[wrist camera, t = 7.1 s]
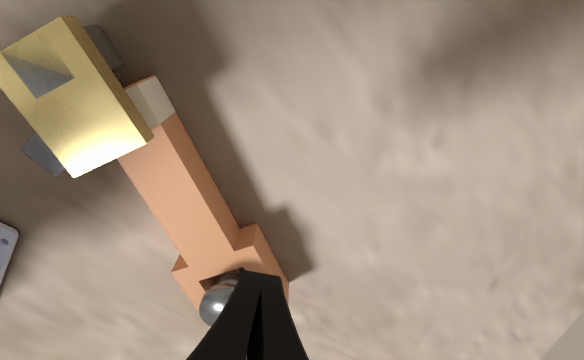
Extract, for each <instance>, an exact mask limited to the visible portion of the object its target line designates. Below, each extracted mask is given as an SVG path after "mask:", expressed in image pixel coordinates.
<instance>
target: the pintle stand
mask: <svg viewBox="0 0 584 360" xmlns="http://www.w3.org/2000/svg"><path fill="white" fill-rule="evenodd" d="M123 64H124V63H123V62H122V60H121V59H120V57H119V56H118V54H117V52H116V51H115V49H114V48H113V46H112V45H111V43H110V42H109V40H108V38H107V37H106V35H105V34H104V32H103V31H102V29H101V27H100V26H99V25H98V26H82V25H81V23H80V22H79V20H78V19H77V17H76V16H59V17H58V18H56V19H54V20H53V21H51V22H49V23H47V24H46V25H44V26H42V27H41V28H39V29H37V30H36V31H34V32H32V33H30V34H29V35H27V36H25V37H24V38H22V39H20V40H19V41H17V42H15V43H13V44H12V45H10V46H8V47H7V48H5V49H3V50H2V51H0V88H1V89H2V91H3V92H4V93H5V94H6V96H7V97H8V98H9V99H10V101H11V102H12V103H13V104H14V105H15V107H16V108H17V109H18V110H19V112H20V113H21V114H22V115H23V116H24V118H25V119H26V120H27V121H28V123H29V124H30V125H31V126H32V128H33V129H34V130H35V131H36V132H35V133H34V134H33V135H32V137H31V138H30V139H29V140H28V141H27V143H26V144H25V145H24V146H23V148H22V149H21V150H20V151H22V152H23V153H24V154H26V155H27V156H28V157H30V158H31V159H32V160H34V161H35V162H36V163H38V164H39V165H40V166H41V167H43V168H44V169H45V170H47V171H48V172H49V173H51V174H52V175H53V176H55V177H57V176H59V175H60V174H62V173H63V172H65V171H66V170H67V171H68V172H69V173H70V174H71V176H72V177H73V178H75V177H77V176H80V175H82V174H84V173H86V172H88V171H90V170H92V169H94V168H96V167H99V166H101V165H103V164H105V163H107V162H109V161H111V160H113V159H115V158H118V157H120V156H122V155H124V154H126V153H128V152H130V151H132V150H134V149H137V148H139V147H141V146H143V145H145V144H147V143H148V142H149V141H150V140H151V139H153V138H154V137H155V136H154V134H153V133H152V131H151V130H150V128H149V126H148V125H147V123H146V122H145V120H144V119H143V117H142V116H141V114H140V113H139V111H138V110H137V108H136V107H135V105H134V104H133V102H132V101H131V99H130V98H129V96H128V95H127V93H126V92H125V90H124V89H123V87H122V86H121V84H120V83H119V81H118V80H117V78H116V76H115V75H114V73H113V72H112V70H114V69H116V68H118V67H120V66H121V65H123ZM244 270H245V269H244V268H243V267H241V268H238V269H235V270H232V271H228V272H225V273H222V274H219V278H218V281H217V285H214V286H212V287H210V288H209V289H208V290H206V292H205V293H204V294H203V296H202V299H201V302H200V306H199V313H200V316H201V318H202V319H203V321H204V322H205V323H206V324H207V325H209V326H210V327H211V326H212V325H213V324H214V322H215V321H216V319H217V318H218V316H219V315H220V313H221V311H222V310H223V308H224V306H225V305H226V303H227V302H228V300H229V298H230V296H231V294H232V292H233V290H234V288H235V286H236V284H237V282H238V279H239V276H240V273H241V272H242V271H244Z"/></svg>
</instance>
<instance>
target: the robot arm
mask: <svg viewBox="0 0 584 360" xmlns="http://www.w3.org/2000/svg"><path fill="white" fill-rule="evenodd" d="M18 235H19V234H18V232H17V231H16V230H15V229H14V228H12V227H10V226H7V225H5V224H3V223H1V222H0V285H1V282H2V279H3V277H4V274H5V271H6V269H7V266H8V263H9V261H10V258H11V255H12V253H13V250H14V247H15V245H16V242H17V239H18ZM246 356H247V359H246ZM186 360H309V359H308V357H307V354H306V352H305V350H304V348H303V345H302V343H301V341H300V338H299V336H298V333H297V330H296V328H295V325H294V322H293V319H292V317H291V314H290V311H289V307H288V304H287V301H286V297H285V293H284V289H283V284H282V279H281V278H280V276H276V275H270V274H264V273H259V272H253V271H247V270H244V271H242V272H241V273H240V276H239V279H238V282H237V284H236V286H235V288H234V290H233V292H232V294H231V296H230V298H229V300H228V302H227V303H226V305H225V306H224V308H223V310H222V311H221V313H220V315H219V316H218V318H217V319H216V321H215V322H214V324H213V325H212V326H211V328H210V329H209V331H208V332H207V334H206V335H205V336H204V338H203V339H202V340H201V342H200V343H199V344H198V346H197V347H196V348H195V349H194V351H193V352H192V353H191V354H190V356H189V357H188V358H187V359H186Z"/></svg>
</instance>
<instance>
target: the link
mask: <svg viewBox="0 0 584 360" xmlns="http://www.w3.org/2000/svg"><path fill="white" fill-rule="evenodd" d="M123 89H124V90H125V92H126V93H127V95H128V96H129V98H130V99H131V101H132V102H133V104H134V105H135V107H136V108H137V110H138V111H139V113H140V114H141V116H142V117H143V119H144V120H145V122H146V123H147V125H148V126H149V128H150V130H151V131H152V133H153V134H154V136H155V137H154V138H153V139H151V140H150V141H149V142H148V143H147V144H145V145H143V146H141V147H139V148H137V149H134V150H132V151H130V152H128V153H126V154H124V155H122V156H120V157H118V158H116V159H117V160H118V162H119V163H120V165H121V166H122V168H123V169H124V171H125V172H126V174H127V175H128V177H129V178H130V180H131V181H132V183H133V184H134V186H135V187H136V189H137V190H138V192H139V193H140V195H141V196H142V198H143V199H144V201H145V202H146V204H147V205H148V207H149V208H150V210H151V211H152V213H153V214H154V215H155V217H156V218H157V220H158V221H159V223H160V224H161V226H162V227H163V229H164V230H165V232H166V233H167V235H168V236H169V238H170V239H171V241H172V242H173V244H174V245H175V247H176V248H177V250H178V251H179V253H180V255H179V257H178V259H177V261H176V263H175V265H174V267H173V269H172V272H171V273H172V275H173V276H174V277H175V279H176V280H177V282H178V283H179V285H180V286H181V287H182V289H183V290H184V292H185V293H186V294H187V296H188V297H189V299H190V300H191V302H192V303H193V304H194V306H195V307H196V309H197V310H198V312H199V306H200V302H201V299H202V296H203V294H204V293H205V292H206V290H208V289H209V288H210V287H212V286H214V285H217V281H218V278H219V274H222V273H225V272H228V271H232V270H235V269H238V268H241V267H243V268H244V269H245V270H247V271H253V272H259V273H264V274H270V275H276V276H280V278H281V279H282V284H283V289H284V293H285V297H286V301H287V304H288V289H289V283H288V281H287V279H286V277H285V275H284V273H283V272H282V270H281V268H280V266H279V264H278V262H277V260H276V258H275V256H274V254H273V252H272V250H271V249H270V247H269V245H268V243H267V241H266V239H265V237H264V235H263V233H262V231H261V229H260V227H259V226H258V224H257V223H254V224H251V225H248V226H246V227H243V228H239V226H238V224H237V222H236V220H235V219H234V217H233V215H232V213H231V211H230V209H229V208H228V206H227V204H226V202H225V200H224V199H223V197H222V195H221V193H220V191H219V190H218V188H217V186H216V184H215V182H214V180H213V179H212V177H211V175H210V173H209V171H208V170H207V168H206V166H205V164H204V162H203V161H202V159H201V157H200V155H199V153H198V151H197V150H196V148H195V146H194V144H193V142H192V141H191V139H190V137H189V135H188V133H187V132H186V130H185V128H184V126H183V124H182V122H181V121H180V119H179V117H178V115H177V113H176V112H175V109H174V107H173V105H172V104H171V102H170V100H169V98H168V96H167V95H166V93H165V91H164V89H163V87H162V85H161V84H160V82H159V80H158V78H157V76H156V75H152V76H150V77H148V78H145V79H143V80H141V81H138V82H136V83H134V84H131V85H129V86H127V87H124V88H123ZM208 326H209V325H208ZM209 327H210V326H209ZM210 328H211V327H210Z"/></svg>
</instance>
